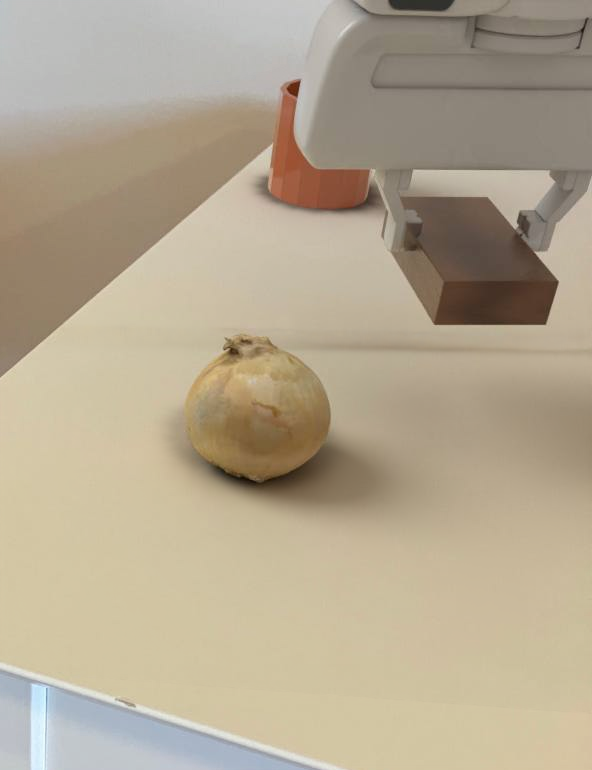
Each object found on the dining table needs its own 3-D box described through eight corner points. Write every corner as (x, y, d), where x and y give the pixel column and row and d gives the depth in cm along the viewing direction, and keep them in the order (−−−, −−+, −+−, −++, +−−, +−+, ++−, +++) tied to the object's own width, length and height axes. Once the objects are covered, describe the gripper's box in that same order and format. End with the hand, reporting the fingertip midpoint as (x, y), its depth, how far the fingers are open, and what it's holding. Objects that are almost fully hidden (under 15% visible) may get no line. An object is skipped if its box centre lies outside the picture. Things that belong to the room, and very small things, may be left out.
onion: (315, 428, 66) (336, 315, 61) (326, 503, 60) (350, 384, 55) (181, 419, 66) (191, 306, 61) (179, 493, 60) (190, 374, 55)
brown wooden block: (478, 236, 67) (488, 196, 65) (546, 325, 58) (559, 281, 56) (380, 236, 67) (388, 196, 65) (433, 325, 58) (444, 281, 56)
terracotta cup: (352, 190, 97) (372, 78, 91) (373, 225, 91) (396, 108, 85) (259, 188, 96) (273, 76, 90) (274, 223, 90) (290, 105, 84)
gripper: (715, -51, 55) (624, 227, 64) (308, -58, 54) (274, 225, 63) (778, -24, 50) (670, 271, 59) (334, -31, 49) (293, 271, 58)
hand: (463, 248), depth 61 cm, fingers closed on brown wooden block, 6 cm apart
